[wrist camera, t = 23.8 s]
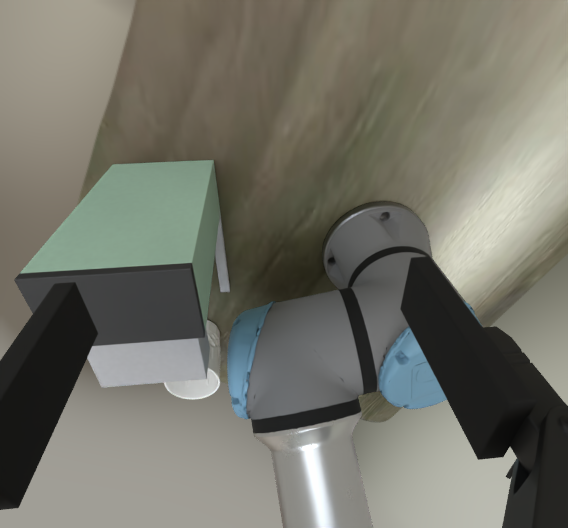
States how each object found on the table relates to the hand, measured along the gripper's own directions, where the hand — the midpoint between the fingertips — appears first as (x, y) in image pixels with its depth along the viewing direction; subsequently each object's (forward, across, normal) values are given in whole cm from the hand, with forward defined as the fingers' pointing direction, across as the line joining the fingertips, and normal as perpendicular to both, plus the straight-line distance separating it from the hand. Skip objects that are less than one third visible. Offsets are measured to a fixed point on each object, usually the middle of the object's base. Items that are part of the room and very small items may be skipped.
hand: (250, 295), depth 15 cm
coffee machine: (+33, -11, -15) cm, 38 cm away
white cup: (+33, -11, -34) cm, 49 cm away
